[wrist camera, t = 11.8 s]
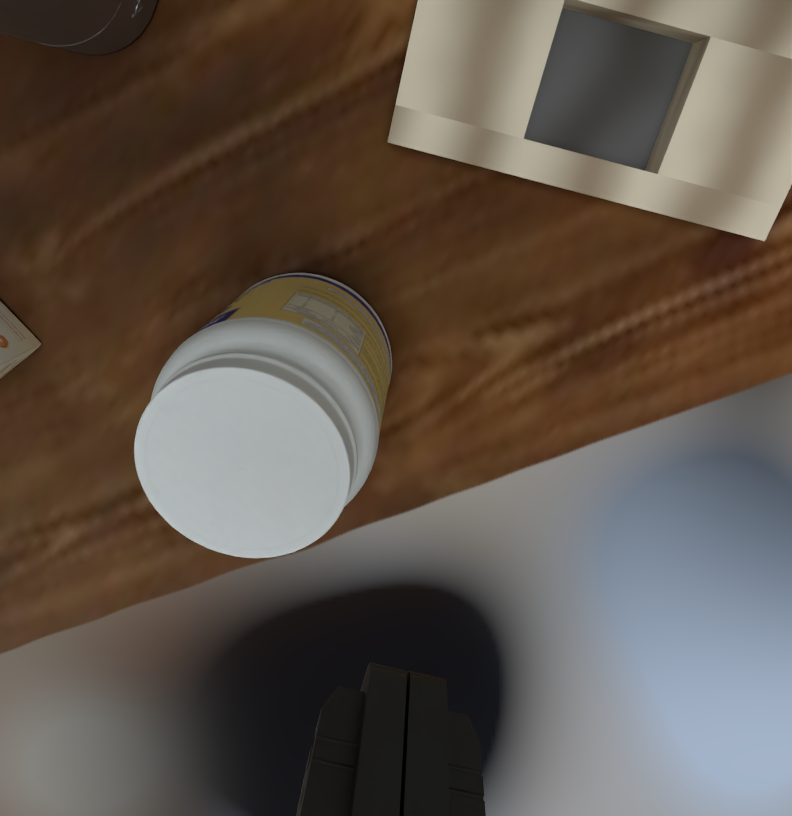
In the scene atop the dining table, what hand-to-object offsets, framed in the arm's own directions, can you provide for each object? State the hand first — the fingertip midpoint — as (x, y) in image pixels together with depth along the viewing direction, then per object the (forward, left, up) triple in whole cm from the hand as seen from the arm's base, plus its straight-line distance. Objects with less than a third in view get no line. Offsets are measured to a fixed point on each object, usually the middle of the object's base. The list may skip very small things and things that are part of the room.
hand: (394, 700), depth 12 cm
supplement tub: (-7, -6, -33) cm, 34 cm away
